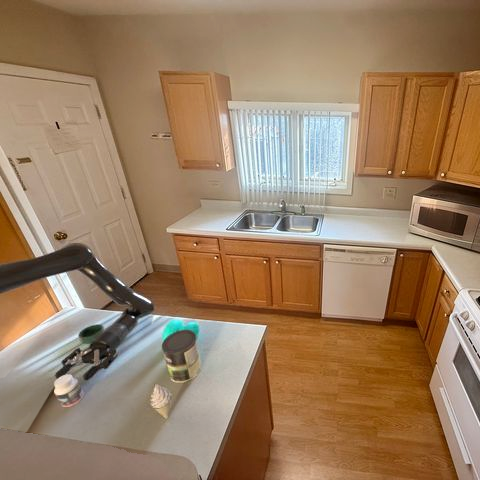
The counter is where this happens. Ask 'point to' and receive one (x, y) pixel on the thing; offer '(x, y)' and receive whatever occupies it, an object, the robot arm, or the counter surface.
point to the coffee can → (182, 355)
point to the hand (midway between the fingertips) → (71, 378)
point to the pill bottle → (68, 390)
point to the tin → (90, 333)
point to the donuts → (179, 328)
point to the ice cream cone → (161, 400)
